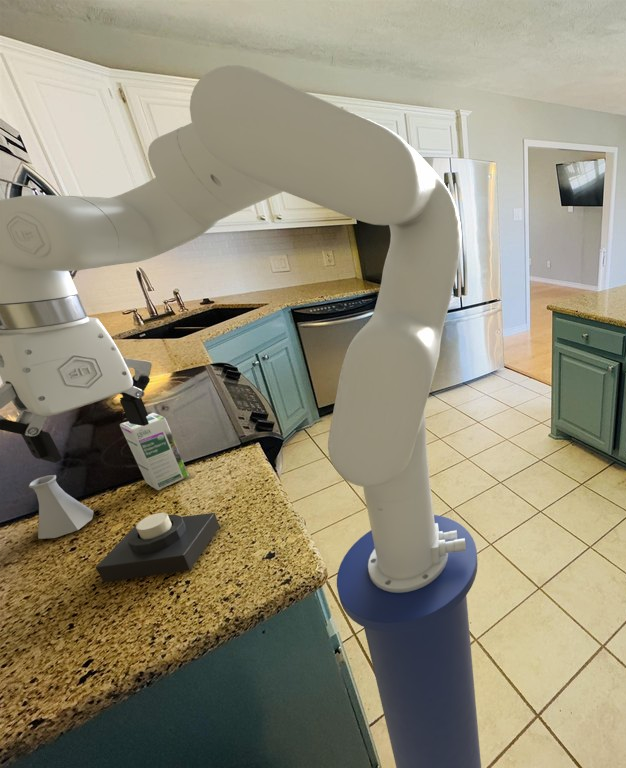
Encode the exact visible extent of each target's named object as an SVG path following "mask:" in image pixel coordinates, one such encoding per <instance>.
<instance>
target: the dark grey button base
mask: <svg viewBox="0 0 626 768" xmlns="http://www.w3.org/2000/svg"><path fill="white" fill-rule="evenodd" d="M167 515H168V517H169V519H170V521H171V523H172V527H171V528H170V530H168V531H167V532H165V533H163V534H162V535H160V536H157V537H154V538H152V539H146V540H143V539H141V537H140V535H139V533H138V531H137V529H136V525H137V524H138V523H139V522H140V521H138V522H137V523H136V524H135V525H134V526H133V527H132V528H131V529H130V531H128V533H127V534H126V535H125V536H124V537H123V538H121V540H120V541H119V542H118V543H117V544H116V545H115V546H114V547H113V548H112V549H111V550H110V551H109V552H108V554H106V555H105V556H104V558H103V559H102V560H101V561H100V562H99V563H98V564H97V565H96V566H95V570H96V571H97V573H98V575H99V577H100V579H101V581H102V582H103V583H111V582H118V581H125V580H132V579H139V578H146V577H152V576H153V577H154V576H161V575H166V574H167V575H168V574H174V573H175V574H176V573H180V572H188V571H191V570H192V568H193V566H194V565H195V564H196V563H197V561H198V560H199V558H200V557H201V555H202V554H203V552H204V551H205V549H206V547H207V546H208V545H209V543H211V540H212V539H213V537H214V536H215V534H216V533H217V531H218V530H219V529H220V524H219V521H218V518H217V516H216V513H215V512H209V513H201V514H193V515H184V516H181V515H178V514H175V513H173V514H167Z"/></svg>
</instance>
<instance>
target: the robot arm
mask: <svg viewBox="0 0 626 768" xmlns="http://www.w3.org/2000/svg"><path fill="white" fill-rule="evenodd" d="M189 113H190V120H191V122H190V123H188V124H185V125H183V126H180V127H179V128H176V129H174V130H172V131H170V132H167V133H165V134H163V135H160V136H159V137H156V138H155V139H154V140H152V142H150V145H148V152H147V158H148V162H149V165H150V167H151V171H152V172H153V174H154V176H155V177H154V178H152V179H151V180H149V181H147V182H145V183H143V184H141V185H139V186H137V187H134V188H133V189H130V190H128V191H126V192H124V193H121V194H119V195H115V196H111V197H102V196H101V197H100V196H81V195H53V194H29V195H28V194H27V195H19V196H13V197H9V198H0V379H1V381H2V384H3V385H2V386H1V387H0V410H2V409H3V408H4V407H5V406H7V405H8V404H9V403H11V402H12V404H13V406H15V408H16V409H17V410H18V411H20V412H19V414H18V416H17V418H16V420H15V421H14V420H10V419H8V418H6V417H4V416H3V415H1V414H0V431H4V432H9V433H14V434H17V435H21V437H22V438H23V440H24V442H25V444H26V446H27V448H28V450H29V451H30V453H31V455H32V457H34V458H35V459H37V460H43V461H47V462H50V463H58V462H60V461H62V459H63V457H62V455H61V453H60V450H59V449H58V447H57V445H56V443H55V441H54V439H53V437H52V435H51V434H50V432H48V431H44V430H43V427H44V426H45V424H46V422H47V420H48V418H49V417H50V416H57V415H60V414H64V413H66V412H67V413H68V412H70V411H73V410H76V409H79V408H81V407H84V406H87V405H91V404H94V403H97V402H100V401H102V400H105V399H109V398H111V397H114V396H118V395H121V396H122V397H120V398H119V403H120V406H121V407H122V410H123V412H124V414H125V416H126V419H127V422H128V421H129V423H131V424H136V425H140V426H145V425H148V424H149V423H148V420H147V418H146V416H148V415H149V414H148V411H147V408H146V406H145V403H144V401H143V398H144V396H145V390H146V388H147V386H148V385H149V383H150V375H151V370H152V365H153V364H152V362H151V361H148V360H142V359H134V358H126V357H123V355H122V353H121V352H120V350H119V348H118V346H117V345H116V343H115V341H114V339H113V338H112V337H111V335H110V334H109V332H108V330H107V329H106V327H105V326H104V325H103V324H102V322H101V321H100V320H99V318H98V317H92V316H91V317H90V316H88V314H87V311H86V308H85V307H84V304H83V302H82V300H81V297H80V295H79V293H78V290H77V288H76V285H75V283H74V281H73V278H72V275H71V273H70V272H77V271H84V270H92V269H98V268H102V267H110V266H116V265H123V264H124V265H125V264H133V263H138V262H144V261H146V260H149V259H152V258H155V257H157V256H160V255H162V254H164V253H167V252H169V251H171V250H173V249H176V248H179V247H181V246H183V245H185V244H187V243H190V242H191V241H193V240H195V239H197V238H199V237H200V236H202V235H203V234H205V233H206V232H208V231H210V230H211V229H212V228H214V227H215V226H216V224H217V223H218V222H219V221H221V220H223V219H225V218H228V217H230V216H233V215H234V214H237V213H238V212H241V211H243V210H245V209H247V208H250V207H251V206H254V205H257V204H258V203H261V202H263V201H265V200H267V199H270V198H272V197H275V196H277V195H279V194H281V193H283V192H285V193H286V194H289V195H291V196H294V197H297V198H299V199H303V200H305V201H307V202H310V203H313V204H315V205H317V206H320V207H323V208H325V209H328V210H329V211H330V210H331V211H333V212H335V213H337V214H340V215H343V216H346V217H348V218H351V219H353V220H357V221H360V222H362V223H366V224H370V225H375V226H389V231H390V240H389V241H390V242H389V248H388V251H387V254H386V257H385V260H384V265H383V268H382V275H381V281H380V286H379V287H380V288H379V291H378V294H377V300H376V304H375V307H374V310H373V313H372V316H371V317H370V319H369V320H368V322H366V323H365V325H364V326H363V327H362V328H361V329H359V331H358V332H357V333H356V334H355V335H354V337H353V338H352V340H351V341H350V343H349V345H348V347H347V350H346V352H345V355H344V358H343V361H342V365H341V369H340V375H339V378H338V385H337V390H336V396H335V400H334V405H333V412H332V415H331V420H330V427H329V432H328V437H327V438H328V439H327V451H328V456H329V459H330V462H331V464H332V466H333V468H334V470H335V471H336V472H337V474H338V475H339V476H340V477H341V478H342V479H344V480H345V481H346V482H348V483H351V484H352V485H354V486H357V487H362V488H363V494H364V500H365V505H366V510H367V514H368V515H367V516H368V520H369V526H370V531H372V536H373V541H374V546H375V549H374V550H373V552H372V554H371V555H370V558H369V561H368V570H369V575H370V578H371V580H372V581H373V583H374V584H375V585H376V586H377V587H379V588H381V589H382V590H385V591H388V592H394V593H403V592H410V591H414V590H417V589H419V588H422V587H424V586H426V585H427V584H429V583H431V582H432V581H433V580H434V579H436V578H437V577H438V576H439V575H440V573H441V572H442V571H443V569H444V567H445V565H446V563H447V559H448V553H450V552H462V551H466V546H465V538H463V539H457V530H456V531H449V532H445V533H443V532H442V531H439V528H438V523H435V521H434V515H435V513H434V505H433V497H432V495H433V494H432V488H431V480H430V476H431V475H430V468H429V460H428V459H429V458H428V445H427V421H426V420H427V419H426V410H425V409H426V406H427V402H428V399H429V396H430V391H431V387H432V384H433V381H434V377H435V374H436V369H437V365H438V362H439V358H440V351H441V341H442V335H443V331H444V327H445V322H446V318H447V315H448V311H449V307H450V303H451V300H452V294H453V290H454V287H455V283H456V277H457V273H458V270H459V269H458V268H459V264H460V260H461V251H462V228H461V221H460V216H459V212H458V208H457V205H456V203H455V200H454V198H453V195H452V193H451V192H450V191H449V189H448V186H447V185H446V184H445V182H444V181H443V179H442V178H441V177H440V176H439V174H438V173H437V172H436V171H435V170H434V169H433V167H432V166H431V165H430V164H429V163H428V162H427V161H426V160H425V159H424V157H422V156H421V154H420V153H419V152H418V151H417V150H416V149H414V148H413V146H411V145H410V144H409V143H408V142H406V140H405V139H404V138H403V137H402V136H400V135H399V134H397V133H396V132H394V131H392V130H391V129H390V128H388V127H386V126H384V125H381V124H379V123H378V122H375V121H373V120H371V119H369V118H366V117H364V116H361V115H359V114H357V113H355V112H353V111H349V110H348V109H346V108H343V107H340V106H339V105H337V104H335V103H332V102H330V101H327V100H325V99H323V98H320V97H317V96H315V95H313V94H312V93H311V94H310V93H308V92H306V91H304V90H302V89H300V88H297V87H295V86H293V85H291V84H288V83H286V82H284V81H282V80H280V79H278V78H276V77H273V76H271V75H269V74H267V73H265V72H263V71H261V70H258V69H256V68H253V67H251V66H250V67H249V66H245V65H239V64H238V65H236V64H235V65H234V64H233V65H231V64H230V65H223V66H219V67H216V68H214V69H211V70H209V71H208V72H206V73H205V74H203V76H201V77H200V78H199V79H198V80H197V82H196V84H195V85H194V87H193V90H192V92H191V95H190V102H189ZM129 368H130V369H133V370H134V375H133V376H132V374H131V372H130V369H129ZM453 539H457V540H454V541H448V542H445V540H453Z"/></svg>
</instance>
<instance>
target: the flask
mask: <svg viewBox="0 0 626 768" xmlns="http://www.w3.org/2000/svg"><path fill="white" fill-rule="evenodd" d="M28 488H30V489H32V490H33V491H34V493H35V494H36V498H37V501H38V529H37V539H38V540H42V539H56V538H60V537H62V536H64V535H68V534H71V533H74V532H77V531H79V530H80V529H82V528H83V527H85V525H87V524H88V523H90V522H91V521H92V520H93V519H94V518H93V517H94V510H92V509H91V508H90V507H88V506H86V505H85V504H83V503H82V502H80V501H78V500H77V499H76V498H74V497H72V496H71V495H70V494H68V493H67V492H65V490H63V488H61V486H59V484H58V482H57V475H56V474H51V475H49V474H48V475H45V476H41V477H38V478H36V479H34V480H32V481H31V482H29V484H28Z"/></svg>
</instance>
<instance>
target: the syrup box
mask: <svg viewBox="0 0 626 768" xmlns="http://www.w3.org/2000/svg"><path fill="white" fill-rule="evenodd" d="M146 418H147V420H148V423H149V424H148V425H145V426H140V425H136V424H131V423H129V421H128V420H127V421H125V422H122V423H120V424H119V427H120V429H121V432H122V433H123V436H124V437H125V440H126V442H127V444H128V446H129V448H130V451H131V453H132V455H133V457H134V460H135V462H136V464H137V467H138V468H139V470H140V472H141V475H142V477H143V479H144V482H145V483H146V484H147V485H149V486H150V487H151V488H153V489H155V490H156V491H158V492H159V491H162V489H164V488H166V487H169V486H171V485H173V484H175V483H177V482H180V481H182V480H185V479H187V478H188V477H189V472H188V471H187V468H186V465H185V464H184V463H185V462H184V461H183V458H182V456H181V453H180V451H179V448H178V446H177V443H176V441H175V439H174V435H173V434H172V431H171V429H170V426H169V424H168V421H167V419H166V418H165V417H164V416H162V415H160V414H158V413H155V412H151V413H149V414H148V416H146Z"/></svg>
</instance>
